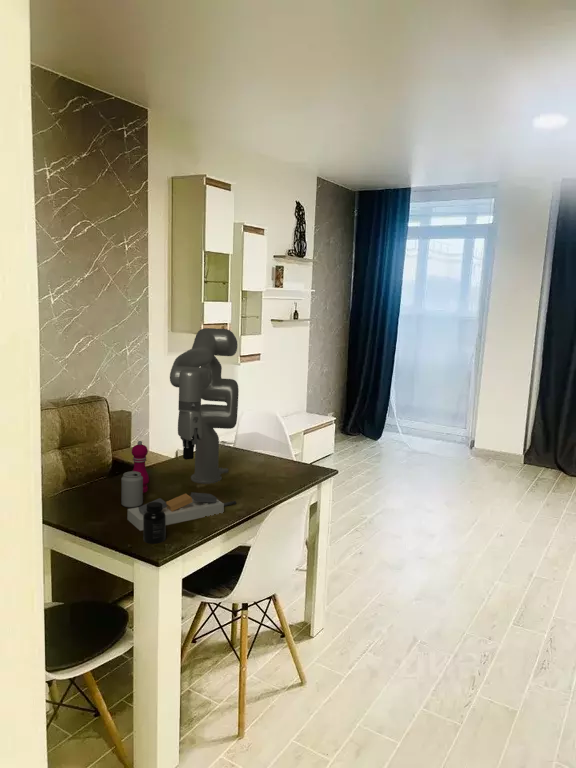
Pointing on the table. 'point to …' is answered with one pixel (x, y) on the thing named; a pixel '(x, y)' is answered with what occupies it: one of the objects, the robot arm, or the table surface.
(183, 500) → the rocker
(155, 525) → the supplement bottle
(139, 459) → the pepper mill
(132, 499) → the can
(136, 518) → the power strip
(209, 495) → the block
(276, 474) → the table surface
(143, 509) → the block
